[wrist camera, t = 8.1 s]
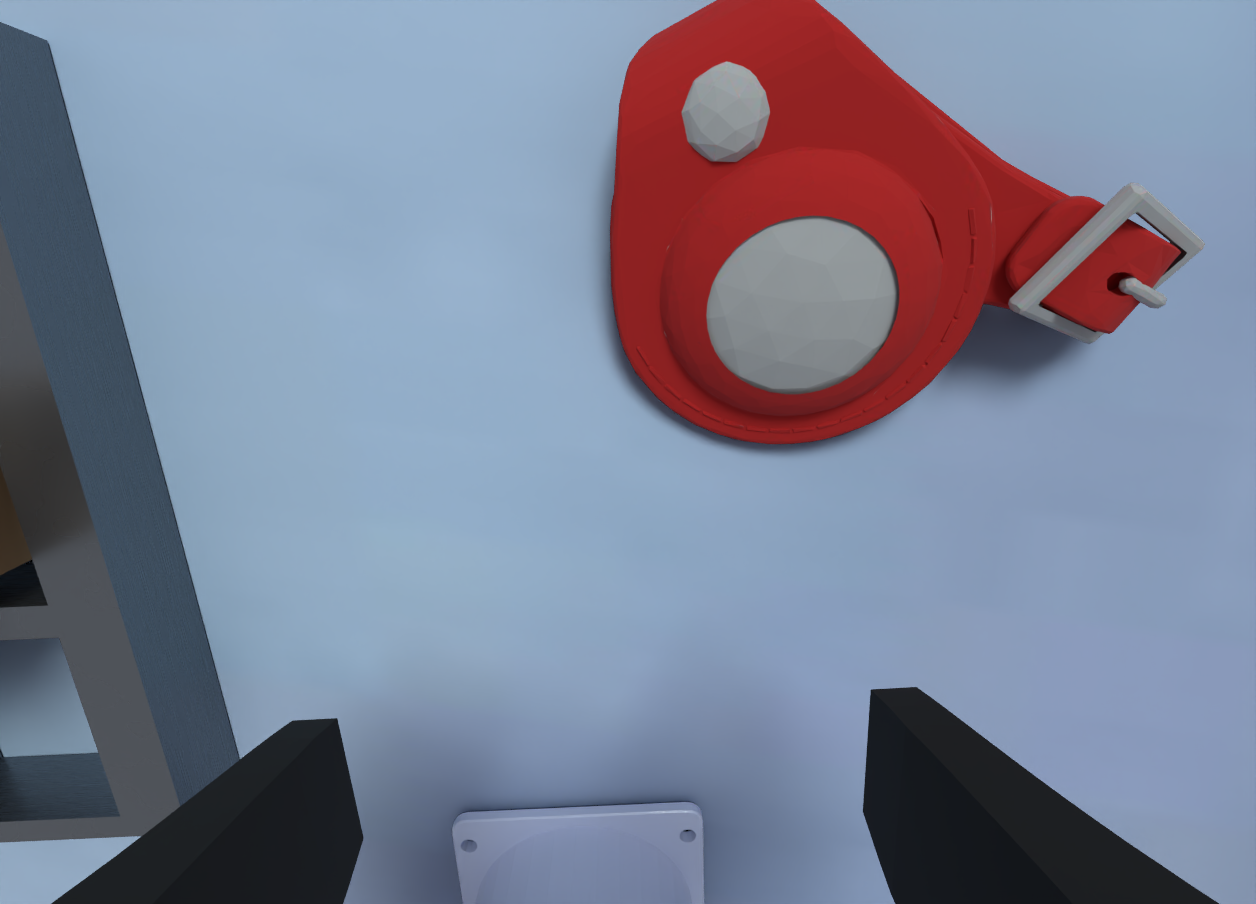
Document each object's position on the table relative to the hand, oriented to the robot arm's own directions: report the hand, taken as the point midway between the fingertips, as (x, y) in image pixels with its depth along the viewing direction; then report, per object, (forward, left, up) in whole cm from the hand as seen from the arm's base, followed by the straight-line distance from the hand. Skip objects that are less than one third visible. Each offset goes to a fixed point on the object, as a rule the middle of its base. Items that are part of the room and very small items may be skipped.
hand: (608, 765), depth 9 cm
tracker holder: (+6, -6, -10) cm, 13 cm away
